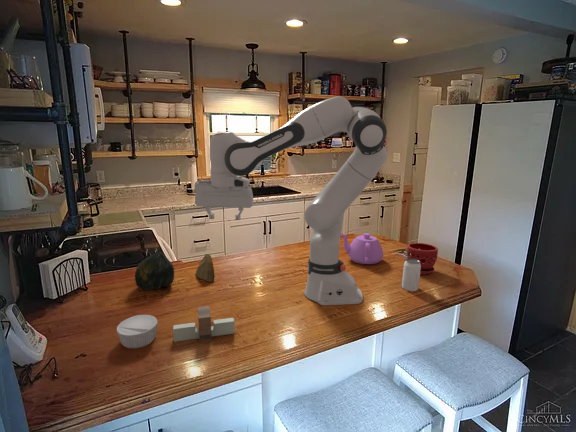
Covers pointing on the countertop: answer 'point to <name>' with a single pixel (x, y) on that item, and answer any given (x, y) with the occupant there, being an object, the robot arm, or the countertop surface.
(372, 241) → the teapot
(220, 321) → the slotted rail
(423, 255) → the plant pot
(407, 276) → the can
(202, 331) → the walnut block
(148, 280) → the squash
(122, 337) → the ramekin
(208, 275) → the rock
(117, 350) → the countertop surface
